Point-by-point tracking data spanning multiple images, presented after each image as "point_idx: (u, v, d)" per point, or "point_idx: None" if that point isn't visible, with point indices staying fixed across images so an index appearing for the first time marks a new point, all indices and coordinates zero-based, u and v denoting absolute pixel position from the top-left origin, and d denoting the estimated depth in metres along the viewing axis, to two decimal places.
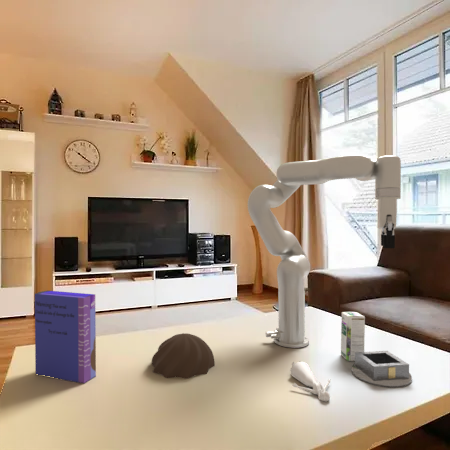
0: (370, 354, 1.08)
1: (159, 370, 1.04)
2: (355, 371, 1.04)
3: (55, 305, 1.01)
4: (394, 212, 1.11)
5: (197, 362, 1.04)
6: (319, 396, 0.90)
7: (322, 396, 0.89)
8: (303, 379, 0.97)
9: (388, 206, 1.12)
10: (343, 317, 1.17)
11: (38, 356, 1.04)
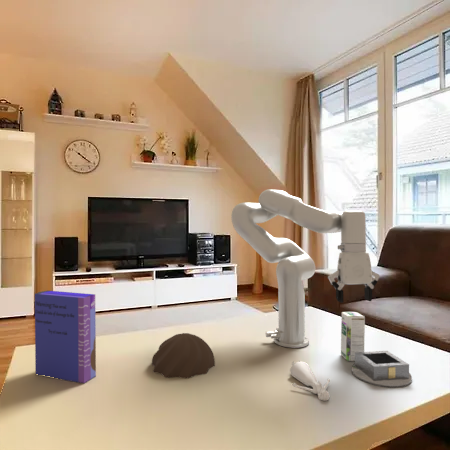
0: (370, 354, 1.08)
1: (159, 369, 1.05)
2: (355, 371, 1.04)
3: (55, 305, 1.01)
4: None
5: (197, 362, 1.04)
6: (319, 395, 0.90)
7: (322, 395, 0.89)
8: (303, 379, 0.97)
9: None
10: (343, 317, 1.17)
11: (38, 356, 1.04)
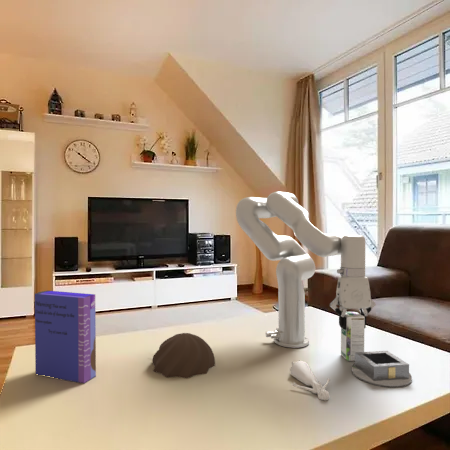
0: (370, 354, 1.08)
1: (159, 369, 1.05)
2: (355, 371, 1.04)
3: (55, 305, 1.01)
4: None
5: (197, 362, 1.04)
6: (319, 395, 0.91)
7: (322, 395, 0.89)
8: (303, 378, 0.98)
9: None
10: None
11: (38, 356, 1.04)
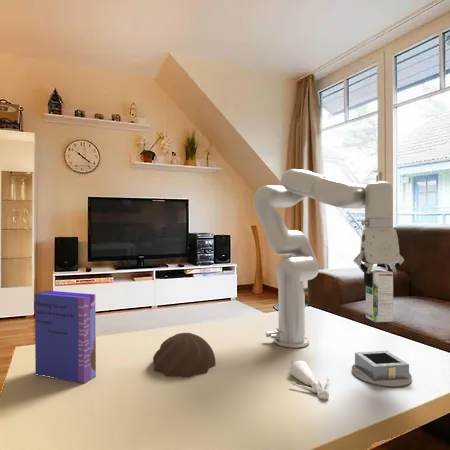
0: (370, 354, 1.08)
1: (160, 368, 1.06)
2: (355, 371, 1.04)
3: (55, 305, 1.01)
4: None
5: (197, 361, 1.04)
6: (318, 394, 0.91)
7: (321, 394, 0.90)
8: (302, 378, 0.98)
9: None
10: None
11: (38, 356, 1.04)
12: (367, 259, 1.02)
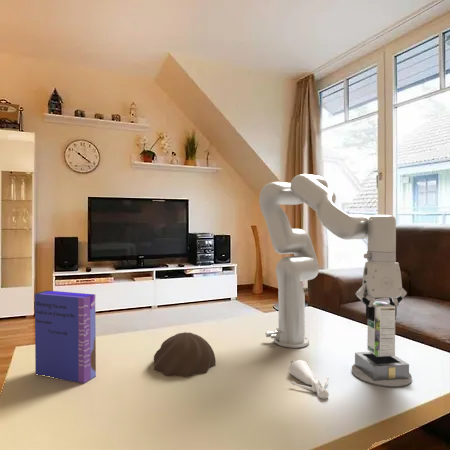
0: (370, 354, 1.08)
1: (160, 368, 1.06)
2: (355, 371, 1.04)
3: (55, 305, 1.01)
4: None
5: (196, 361, 1.04)
6: (318, 394, 0.91)
7: (321, 394, 0.90)
8: (302, 377, 0.98)
9: None
10: None
11: (38, 356, 1.04)
12: (369, 293, 1.01)
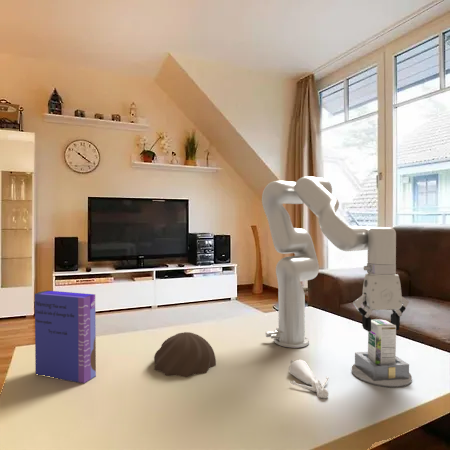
0: None
1: (160, 367, 1.06)
2: (355, 371, 1.04)
3: (55, 305, 1.01)
4: None
5: (196, 361, 1.05)
6: (318, 393, 0.92)
7: (321, 393, 0.90)
8: (302, 377, 0.99)
9: None
10: (371, 326, 1.05)
11: (38, 356, 1.04)
12: (369, 305, 1.01)
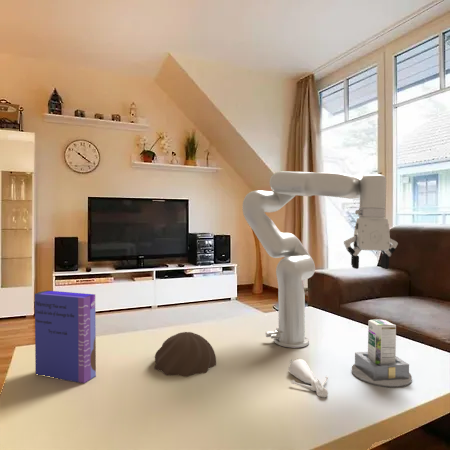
0: None
1: (160, 367, 1.07)
2: (355, 371, 1.04)
3: (55, 305, 1.01)
4: None
5: (196, 361, 1.05)
6: (317, 392, 0.92)
7: (320, 392, 0.91)
8: (301, 376, 0.99)
9: None
10: (371, 326, 1.05)
11: (38, 356, 1.04)
12: (359, 246, 1.10)
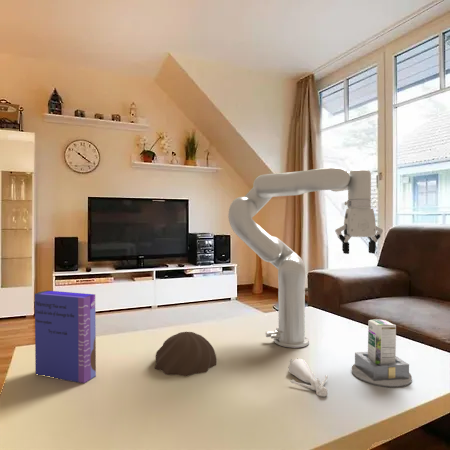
0: None
1: (160, 366, 1.07)
2: (355, 371, 1.04)
3: (55, 305, 1.01)
4: None
5: (196, 360, 1.05)
6: (317, 392, 0.92)
7: (320, 392, 0.91)
8: (301, 375, 0.99)
9: None
10: (371, 326, 1.05)
11: (38, 356, 1.04)
12: (349, 233, 1.23)
